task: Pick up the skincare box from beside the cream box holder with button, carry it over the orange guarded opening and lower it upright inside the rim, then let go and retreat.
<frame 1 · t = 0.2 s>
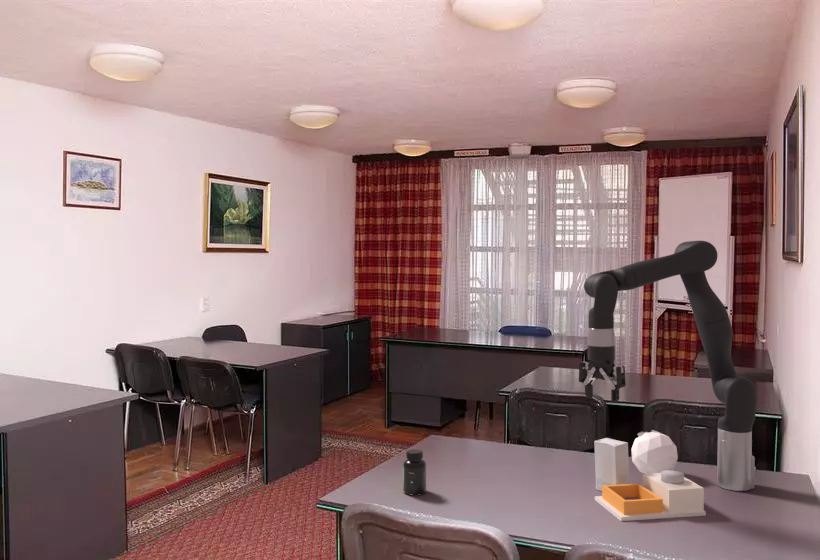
hand: (601, 400, 198), 28 cm above the table, fingers open, 8 cm apart
box holder with button: (648, 507, 189), on the table
geodesic sphere: (654, 475, 217), on the table
skincare box: (611, 492, 202), on the table
supplement bottle: (414, 492, 202), on the table
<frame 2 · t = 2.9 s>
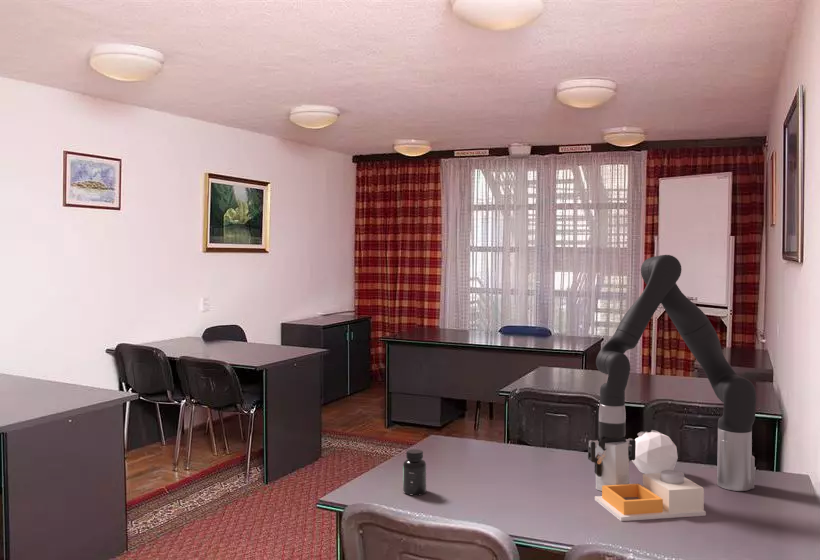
hand: (611, 475, 202), 5 cm above the table, fingers closed on skincare box, 7 cm apart
skincare box: (611, 492, 202), on the table, touching gripper
everything else where it was.
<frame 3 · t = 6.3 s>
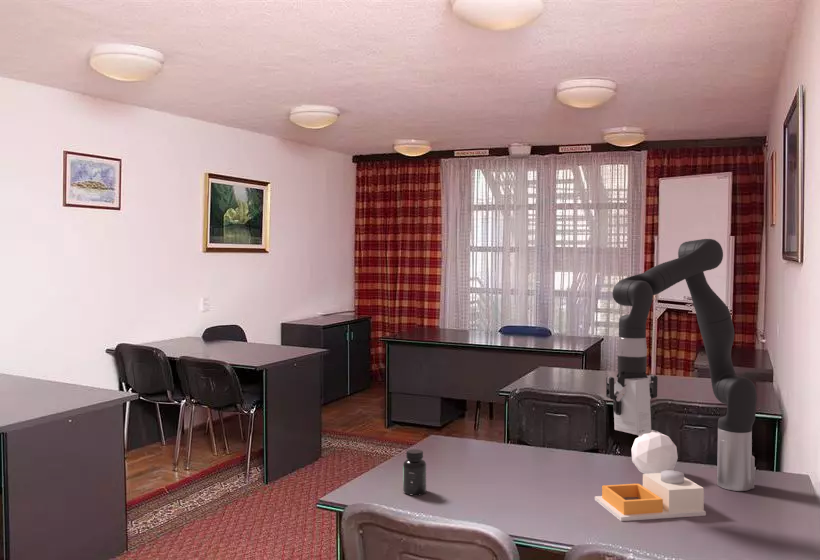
hand: (631, 413, 188), 26 cm above the table, fingers closed on skincare box, 7 cm apart
skincare box: (631, 432, 188), point 21 cm above the table, touching gripper
everything else where it was.
when the fingers open (8 cm above the table, at t = 9.6 s): skincare box drops 2 cm, resting on box holder with button.
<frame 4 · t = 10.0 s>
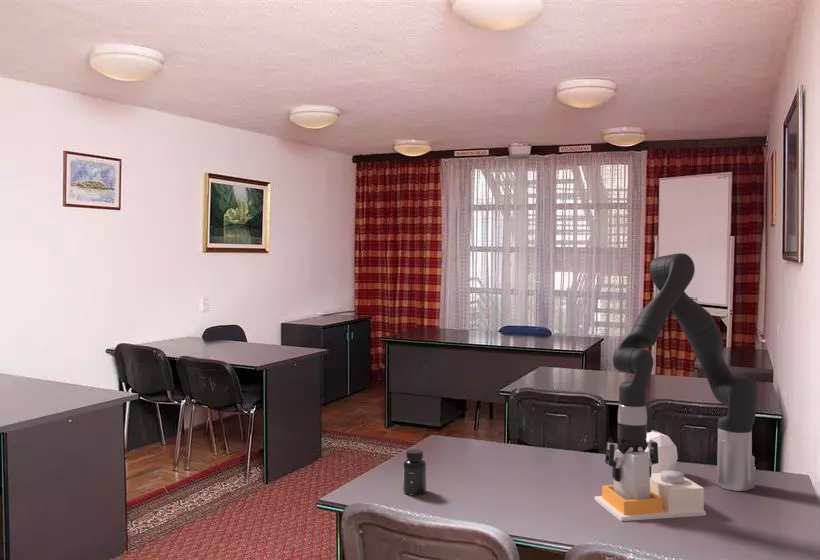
hand: (631, 480, 188), 8 cm above the table, fingers open, 8 cm apart
skincare box: (631, 505, 188), point 1 cm above the table, touching box holder with button
everything else where it was.
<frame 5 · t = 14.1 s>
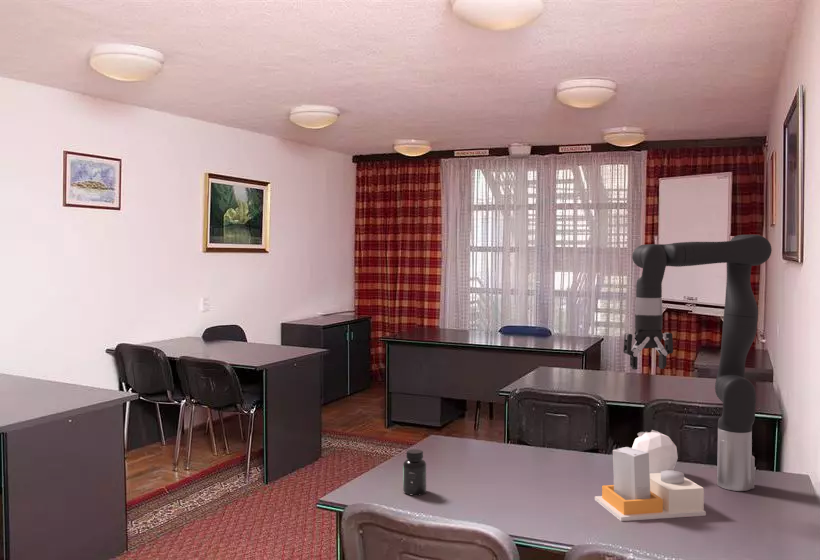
hand: (648, 368, 201), 36 cm above the table, fingers open, 8 cm apart
nothing on the table moved.
at the end: skincare box inside the target area on the box holder with button (0.1 cm from its centre), point 0.9 cm above the box holder with button's base; skincare box tilted 0°; the gripper is holding nothing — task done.
